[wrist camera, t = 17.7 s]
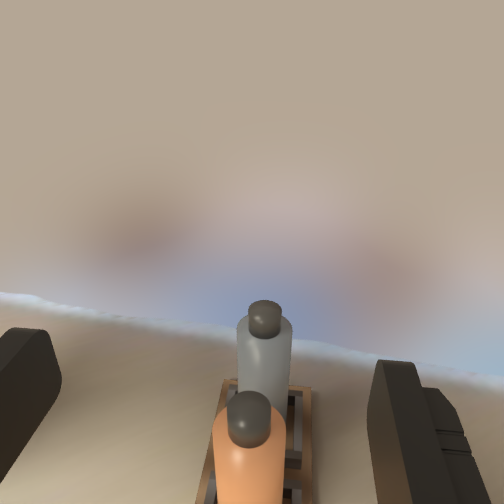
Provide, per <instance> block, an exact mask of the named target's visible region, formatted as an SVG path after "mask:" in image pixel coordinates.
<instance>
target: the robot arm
mask: <svg viewBox="0 0 504 504" xmlns="http://www.w3.org/2000/svg"><path fill="white" fill-rule="evenodd" d="M61 382H62V377H61V372H60V368H59V365H58V362H57V359H56V355H55V352H54V349H53V345H52V342H51V339H50V336H49V334H48V332H47V331H45V330H40V329H28V328H16V327H15V328H11V329H9V330H8V331H7V332H5V333H4V335H3V336H2V337H1V338H0V483H1V482H2V480H3V479H4V477H5V476H6V474H7V473H8V471H9V470H10V468H11V467H12V465H13V464H14V462H15V461H16V459H17V458H18V456H19V455H20V453H21V452H22V450H23V449H24V447H25V446H26V444H27V443H28V441H29V440H30V438H31V437H32V435H33V434H34V432H35V431H36V429H37V428H38V426H39V425H40V423H41V422H42V420H43V419H44V417H45V416H46V414H47V413H48V411H49V410H50V408H51V407H52V405H53V404H54V402H55V400H56V399H57V397H58V394H59V392H60V388H61ZM367 431H368V439H369V445H370V452H371V459H372V466H373V473H374V480H375V486H376V493H377V500H378V504H491V501H490V499H489V496H488V493H487V491H486V488H485V486H484V483H483V480H482V478H481V475H480V472H479V470H478V467H477V465H476V462H475V459H474V457H472V455H471V452H472V451H471V449H470V446H469V444H468V441H467V438H466V437H464V430H463V428H462V425H461V423H460V420H459V417H458V415H457V412H456V409H455V408H454V407H453V406H452V404H451V403H450V402H449V401H448V400H447V399H446V397H445V396H444V395H443V394H442V393H441V392H440V390H439V389H436V388H425V387H422V386H421V383H420V380H419V377H418V373H417V370H416V367H415V365H414V364H413V363H412V362H403V361H392V360H378V361H377V364H376V368H375V373H374V378H373V383H372V387H371V392H370V397H369V402H368V408H367Z"/></svg>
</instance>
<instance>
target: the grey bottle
mask: <svg viewBox="0 0 504 504" xmlns="http://www.w3.org/2000/svg"><path fill="white" fill-rule="evenodd" d="M281 314H282V309H281V307H280V306H279V305H278V304H277V303H275V302H273V301H269V300H260V301H257V302H254V303H253V304H251V305H250V306H249V309H248V315H247V316H245V317H243V318H242V319H241V320H240V322H239V323H238V325H237V367H238V393H239V392H242V391H256V392H259V393H261V394H263V395H264V396H266V397H267V399H268V400H269V402H270V404H271V406H272V407H274V408H275V409H276V410H277V411H278V412H279V413H280V414H281V416H282V417H283V419H284V422H285V425H286V418H287V403H288V389H289V374H290V359H291V344H292V326H291V324H290V322H289V321H288V320H287V319H286V318H285V317H283V316H281Z"/></svg>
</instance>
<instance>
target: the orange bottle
mask: <svg viewBox="0 0 504 504" xmlns="http://www.w3.org/2000/svg"><path fill="white" fill-rule="evenodd" d="M212 436H213V449H214V461H215V474H216V486H217V499H218V504H282V498H283V480H284V462H285V444H286V425H285V422H284V419H283V417H282V416H281V414H280V413H279V412H278V411H277V410H276V409H275V408H274V407H272V406H271V404H270V402H269V400H268V399H267V397H266V396H264V395H263V394H261V393H259V392H256V391H242V392H239V393H237V394H235V395H234V396H233V397H232V398H231V399H230V400H229V402H228V404H227V407H225V408H224V409H223V410H222V411H221V412H220V413H219V414H218V415H217V417H216V419H215V421H214V424H213V429H212Z"/></svg>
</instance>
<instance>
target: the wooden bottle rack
mask: <svg viewBox="0 0 504 504" xmlns="http://www.w3.org/2000/svg"><path fill="white" fill-rule="evenodd" d="M237 393H238V381H237V380H226V379H224V382H223V386H222V390H221V395H220V399H219V403H218V407H217V412H216V416H215V419H216V417H217V415H218V414H219V413H220V412H221V411H222V410H223V409H224V408H225V407H227V404H228V402H229V400H230V399H231V398H232V397H233V396H234V395H235V394H237ZM214 421H215V420H214ZM195 504H218V499H217V486H216V474H215V461H214V449H213V436H212V433H211V437H210V442H209V446H208V450H207V455H206V459H205V463H204V468H203V472H202V476H201V480H200V485H199V489H198V493H197V498H196V502H195ZM282 504H312V432H311V387H301V386H290V385H289V389H288V403H287V418H286V444H285V462H284V480H283V498H282Z"/></svg>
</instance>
